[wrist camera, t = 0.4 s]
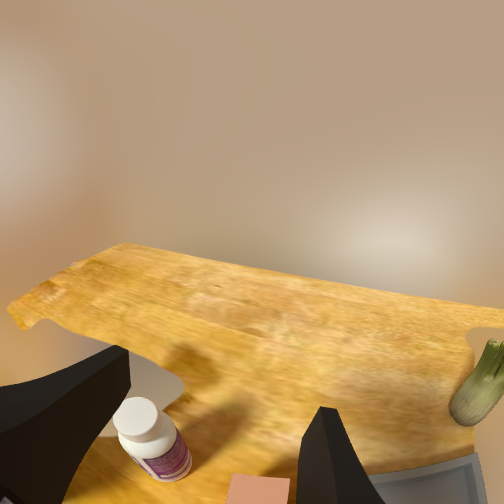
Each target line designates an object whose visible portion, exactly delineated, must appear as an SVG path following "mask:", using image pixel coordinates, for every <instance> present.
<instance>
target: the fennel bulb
mask: <svg viewBox="0 0 504 504" xmlns="http://www.w3.org/2000/svg"><path fill="white" fill-rule="evenodd" d="M498 347H499V342H498V340H496V339H490V340H489V341H488V342H487V345H486V347H485V349H484V352H483V354H482V356H481V358H480V360H479V362H478V364H477V366H476V368H475V369H474V371H473V372H472V373H471V374H470V376H469V377H468V378H467V379H466V380H465V381H464V382H463V383H462V385H461V386H460V387H459V389H458V390H457V391H456V393H455V394H454V396H453V398H452V400H451V402H450V408H449V411H450V414H451V415H452V416H453V419H454V420H455V421H456V422H457V423H458V424H459V425H462V426H474V425H476V424H477V423H479V422H480V421H481V420H482V419H484V418H485V417H486V416H487V414H488V413H489V412H490V411H491V410H492V409H493V408H494V406H495V405H496V404H497V403H498V401H499V400H500V399H501V397H502V396H503V394H504V341H503V342H502V343H501V345H500V347H499V349H498ZM497 350H498V351H497ZM496 352H497V353H496ZM495 354H496V355H495Z"/></svg>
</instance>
